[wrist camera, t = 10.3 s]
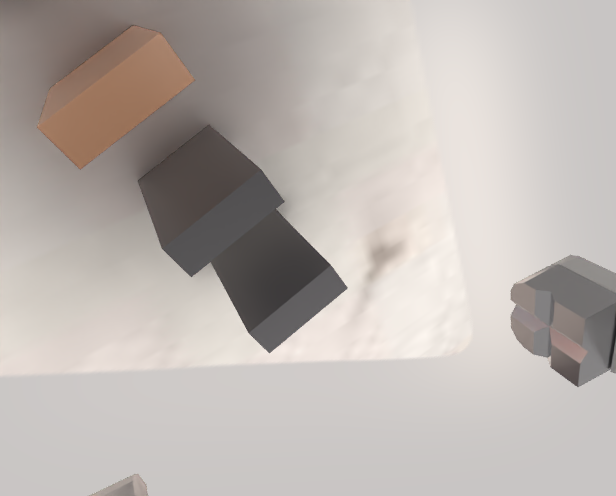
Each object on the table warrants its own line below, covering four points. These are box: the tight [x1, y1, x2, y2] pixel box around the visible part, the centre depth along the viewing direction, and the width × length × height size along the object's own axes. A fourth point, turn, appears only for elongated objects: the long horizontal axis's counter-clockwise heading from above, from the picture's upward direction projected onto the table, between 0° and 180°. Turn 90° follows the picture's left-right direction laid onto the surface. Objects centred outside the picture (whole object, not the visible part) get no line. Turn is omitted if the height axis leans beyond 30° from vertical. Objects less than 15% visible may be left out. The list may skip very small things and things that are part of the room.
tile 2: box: [138, 125, 285, 277], centre depth 23 cm, size 2×5×9 cm, turn 122°
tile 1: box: [211, 209, 347, 353], centre depth 26 cm, size 2×5×9 cm, turn 122°
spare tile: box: [37, 25, 195, 169], centre depth 19 cm, size 2×5×9 cm, turn 122°
